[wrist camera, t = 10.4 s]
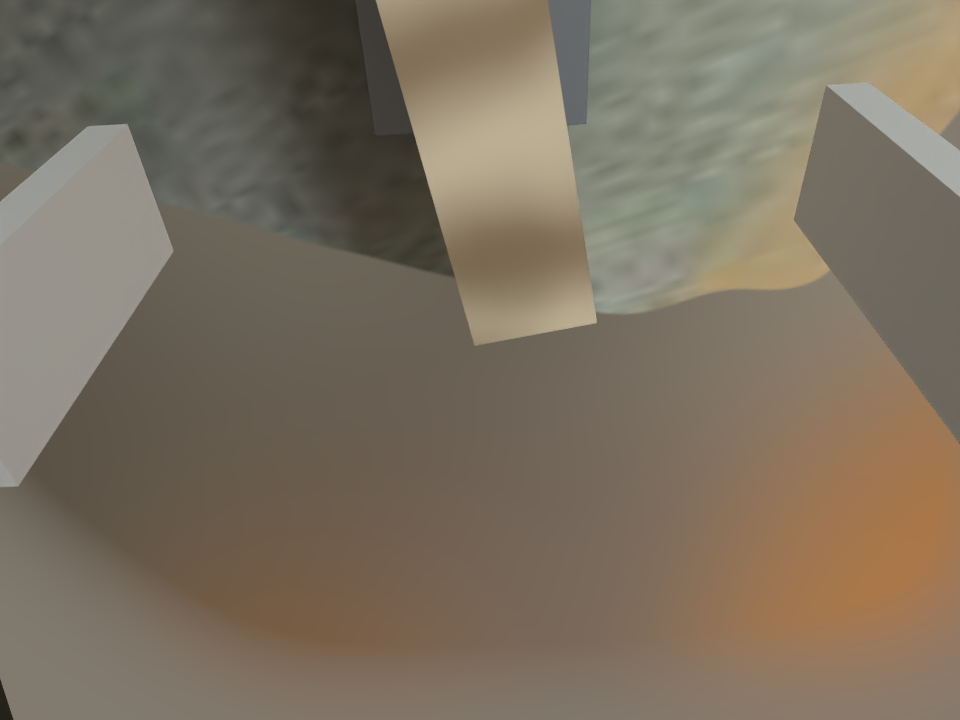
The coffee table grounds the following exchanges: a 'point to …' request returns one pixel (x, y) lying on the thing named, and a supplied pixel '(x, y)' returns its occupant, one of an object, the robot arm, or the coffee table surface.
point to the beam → (495, 158)
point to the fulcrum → (385, 93)
